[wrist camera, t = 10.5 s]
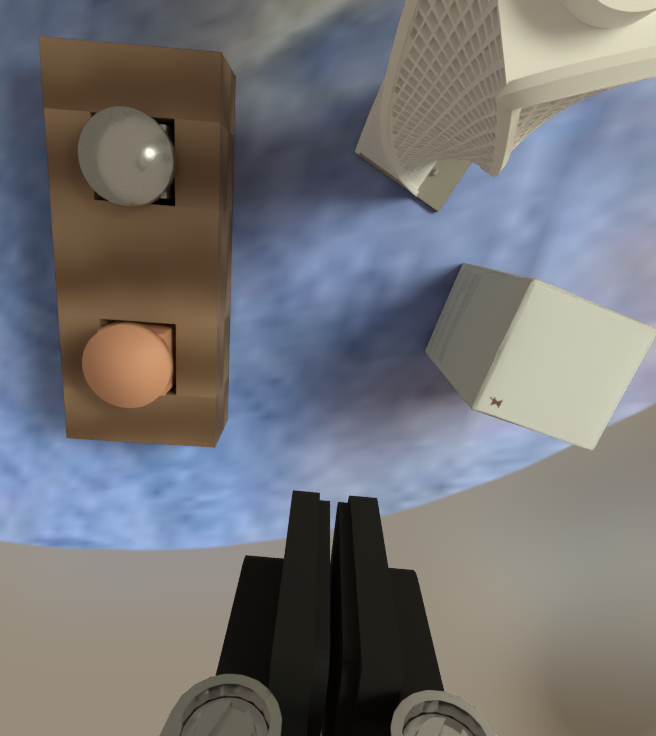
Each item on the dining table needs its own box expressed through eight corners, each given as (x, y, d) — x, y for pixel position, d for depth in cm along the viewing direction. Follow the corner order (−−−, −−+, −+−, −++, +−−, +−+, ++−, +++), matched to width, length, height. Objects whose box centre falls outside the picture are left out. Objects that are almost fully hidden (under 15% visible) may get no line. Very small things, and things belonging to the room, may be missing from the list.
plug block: (79, 63, 33) (38, 36, 28) (235, 76, 34) (221, 52, 29) (97, 411, 40) (66, 438, 35) (227, 420, 40) (214, 447, 35)
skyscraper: (425, 229, 36) (720, 256, 9) (328, 162, 35) (350, -30, 8) (499, 119, 34) (1135, -239, 8) (400, 44, 33) (738, -715, 6)
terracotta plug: (119, 305, 36) (79, 322, 30) (193, 310, 37) (168, 328, 31) (121, 376, 38) (84, 405, 32) (193, 380, 38) (169, 410, 32)
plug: (118, 123, 34) (75, 102, 28) (197, 129, 34) (171, 110, 28) (121, 205, 35) (80, 202, 30) (197, 211, 36) (172, 209, 30)
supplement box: (509, 385, 40) (592, 457, 27) (421, 351, 39) (466, 411, 27) (554, 295, 38) (665, 330, 26) (463, 258, 37) (532, 276, 25)
